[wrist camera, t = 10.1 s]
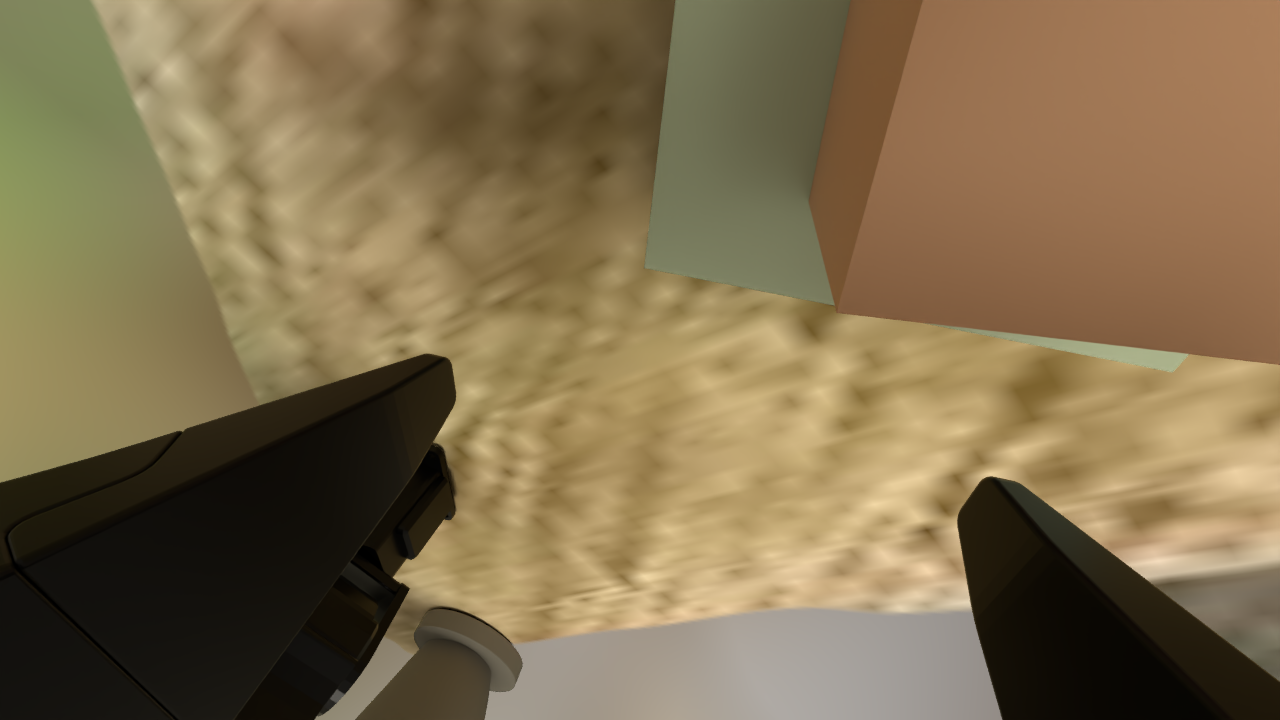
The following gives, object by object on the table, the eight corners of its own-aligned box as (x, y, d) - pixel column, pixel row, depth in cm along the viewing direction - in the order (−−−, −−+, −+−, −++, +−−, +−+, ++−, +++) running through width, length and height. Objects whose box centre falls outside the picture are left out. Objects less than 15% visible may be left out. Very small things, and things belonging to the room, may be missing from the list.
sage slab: (665, 235, 15) (644, 267, 13) (729, -227, 10) (713, -324, 7) (1100, 316, 13) (1172, 372, 11) (1484, -198, 8) (1804, -316, 5)
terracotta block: (808, 201, 11) (837, 313, 6) (868, -86, 8) (1006, -308, 3) (1049, 219, 10) (1315, 369, 5) (1206, -99, 7) (2096, -438, 2)
